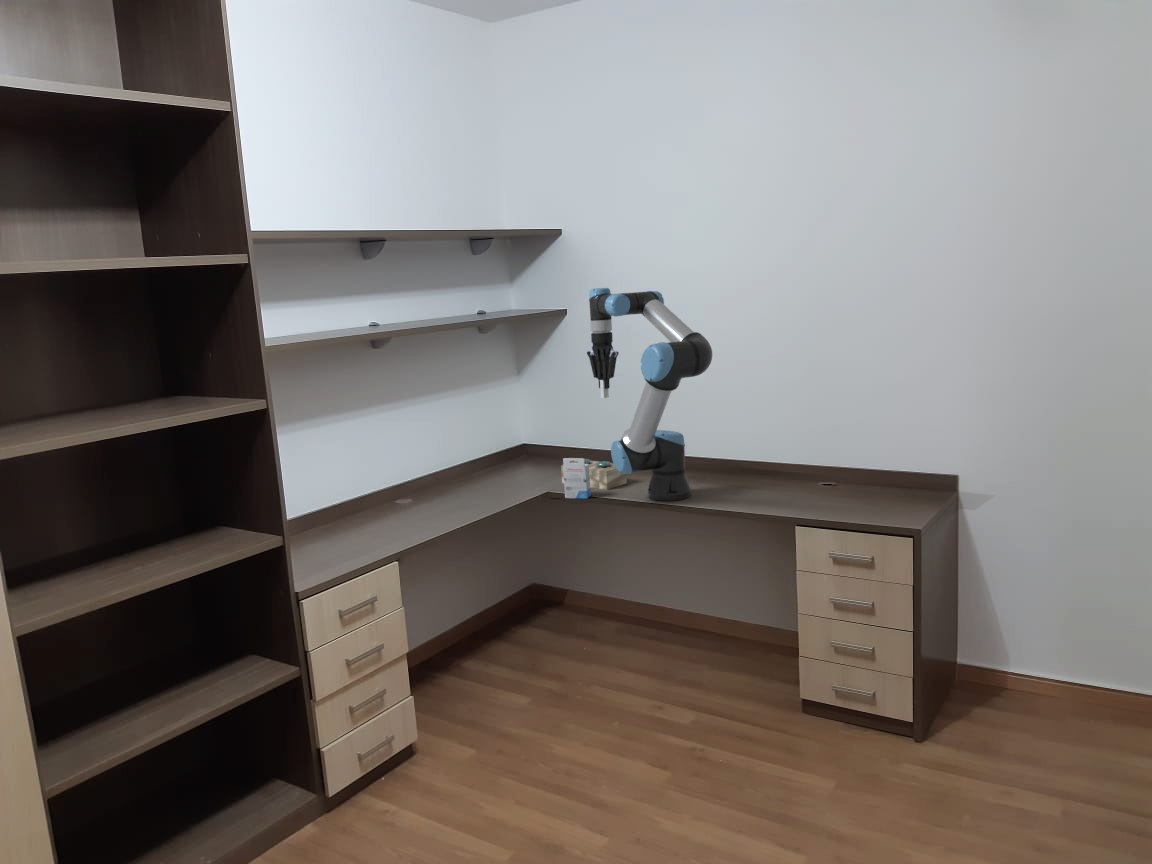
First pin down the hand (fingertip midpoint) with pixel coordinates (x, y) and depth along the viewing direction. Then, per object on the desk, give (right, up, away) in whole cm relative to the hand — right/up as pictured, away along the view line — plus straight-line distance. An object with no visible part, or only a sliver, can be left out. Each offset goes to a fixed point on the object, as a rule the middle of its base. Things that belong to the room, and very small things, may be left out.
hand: (604, 397), depth 327 cm
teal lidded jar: (-7, -31, +21) cm, 38 cm away
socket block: (-3, -32, +18) cm, 37 cm away
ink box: (-10, -36, -1) cm, 37 cm away
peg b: (0, -32, +15) cm, 35 cm away
